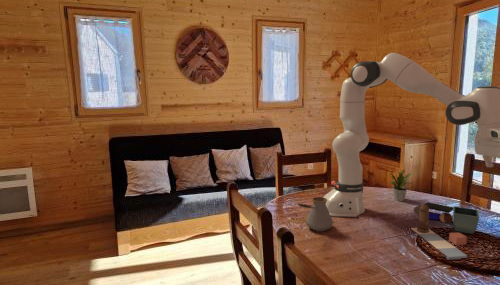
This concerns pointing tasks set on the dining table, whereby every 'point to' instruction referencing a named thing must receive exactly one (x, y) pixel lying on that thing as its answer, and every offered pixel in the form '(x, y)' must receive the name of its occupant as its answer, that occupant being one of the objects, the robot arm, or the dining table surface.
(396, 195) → the house plant
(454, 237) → the salmon red cube
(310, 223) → the coffee pot
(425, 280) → the dining table surface
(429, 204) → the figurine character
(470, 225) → the flower pot
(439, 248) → the track
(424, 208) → the pawn
